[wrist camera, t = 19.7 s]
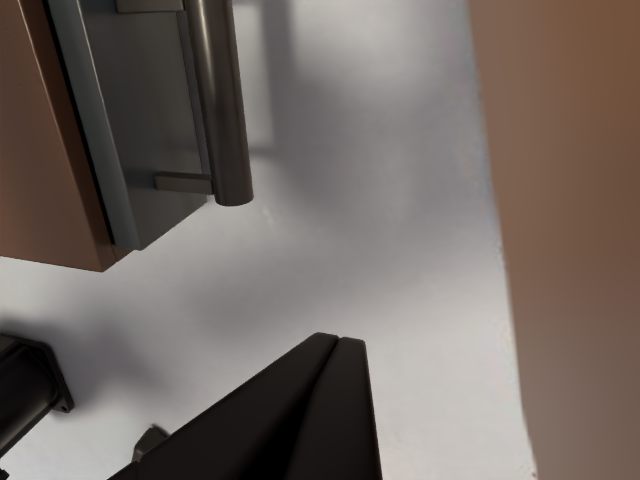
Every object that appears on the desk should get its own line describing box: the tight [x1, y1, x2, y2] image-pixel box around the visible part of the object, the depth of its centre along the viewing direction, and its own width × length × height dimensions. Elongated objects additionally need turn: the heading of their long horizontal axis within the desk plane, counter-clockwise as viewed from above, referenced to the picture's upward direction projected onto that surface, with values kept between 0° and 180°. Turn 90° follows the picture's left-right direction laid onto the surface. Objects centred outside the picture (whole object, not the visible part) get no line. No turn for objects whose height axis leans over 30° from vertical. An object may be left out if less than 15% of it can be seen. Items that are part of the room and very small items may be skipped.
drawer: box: [42, 0, 254, 251], centre depth 18 cm, size 17×10×5 cm, turn 93°
